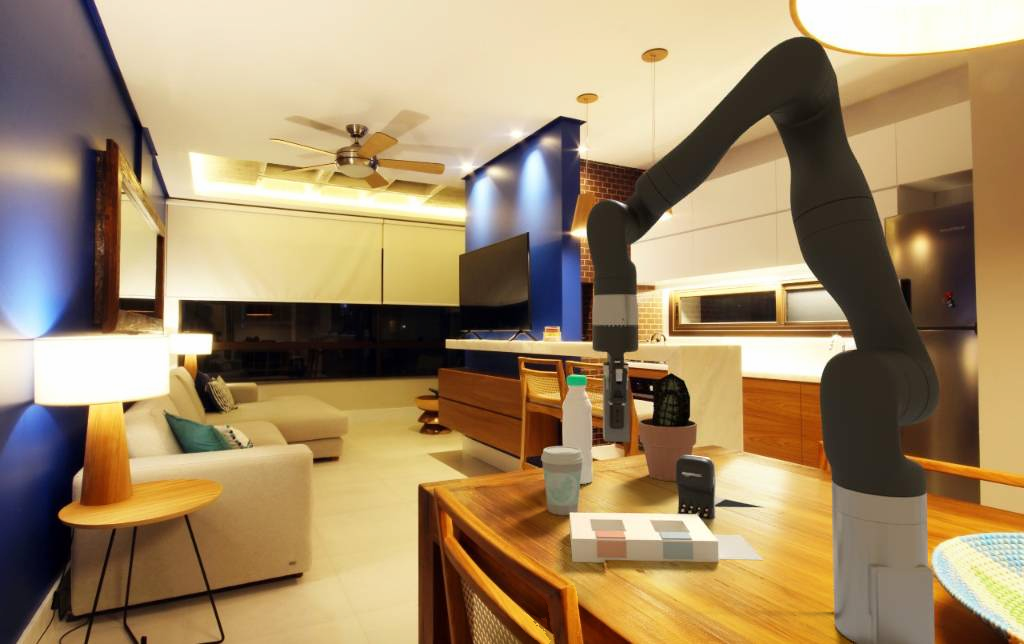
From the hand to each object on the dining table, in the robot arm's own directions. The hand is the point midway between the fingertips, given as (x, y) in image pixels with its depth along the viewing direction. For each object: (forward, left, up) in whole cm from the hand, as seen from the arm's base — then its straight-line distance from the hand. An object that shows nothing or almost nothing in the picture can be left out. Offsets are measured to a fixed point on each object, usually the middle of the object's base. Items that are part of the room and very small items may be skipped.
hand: (615, 425), depth 90 cm
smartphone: (+18, -27, -21) cm, 39 cm away
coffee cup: (+17, +9, -20) cm, 28 cm away
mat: (-1, -17, -20) cm, 26 cm away
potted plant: (+43, -17, -20) cm, 51 cm away
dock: (-1, -3, -20) cm, 20 cm away
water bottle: (+38, +5, -20) cm, 43 cm away
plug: (0, 0, -2) cm, 2 cm away
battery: (+14, -16, -20) cm, 29 cm away
